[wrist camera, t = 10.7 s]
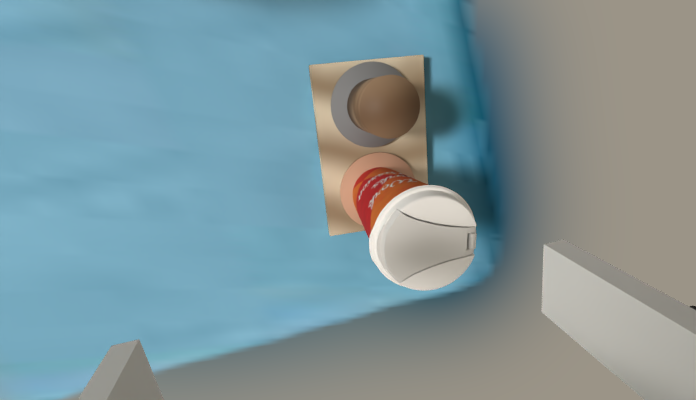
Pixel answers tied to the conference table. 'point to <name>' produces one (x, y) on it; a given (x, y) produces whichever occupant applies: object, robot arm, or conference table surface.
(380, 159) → the terracotta pad
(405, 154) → the board
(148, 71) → the conference table surface
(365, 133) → the grey pad
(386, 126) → the brown short cylinder
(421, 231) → the paper cup
